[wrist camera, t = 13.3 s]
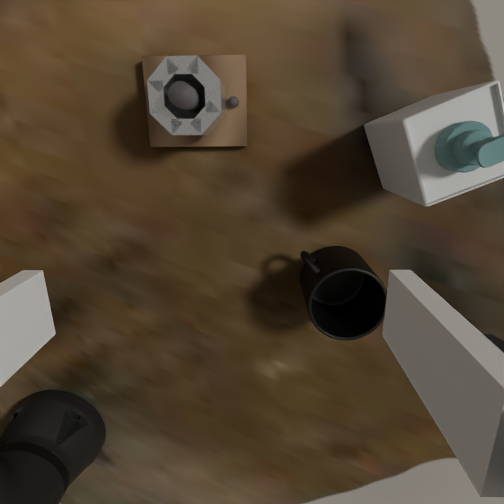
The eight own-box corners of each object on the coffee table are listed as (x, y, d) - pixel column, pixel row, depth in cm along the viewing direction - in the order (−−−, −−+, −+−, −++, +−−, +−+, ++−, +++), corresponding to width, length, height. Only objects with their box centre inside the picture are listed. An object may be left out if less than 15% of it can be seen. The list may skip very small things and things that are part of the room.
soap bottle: (450, 162, 45) (577, 180, 27) (382, 189, 46) (460, 223, 28) (433, 94, 43) (560, 63, 25) (362, 124, 44) (434, 116, 26)
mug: (323, 218, 48) (337, 236, 39) (381, 277, 50) (406, 305, 41) (273, 264, 50) (276, 291, 41) (330, 319, 52) (344, 354, 44)
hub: (164, 135, 42) (151, 135, 37) (158, 66, 40) (144, 56, 35) (226, 134, 42) (222, 134, 37) (224, 64, 40) (219, 55, 35)
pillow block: (153, 146, 45) (125, 149, 36) (145, 59, 42) (112, 36, 33) (247, 145, 45) (243, 147, 36) (246, 57, 42) (241, 34, 32)
